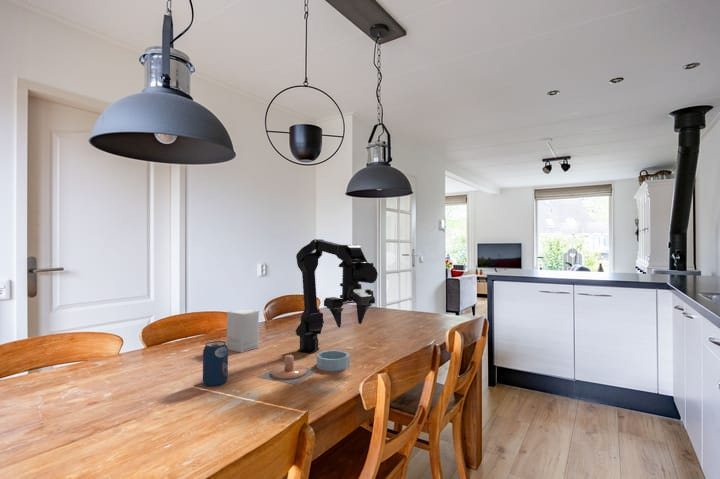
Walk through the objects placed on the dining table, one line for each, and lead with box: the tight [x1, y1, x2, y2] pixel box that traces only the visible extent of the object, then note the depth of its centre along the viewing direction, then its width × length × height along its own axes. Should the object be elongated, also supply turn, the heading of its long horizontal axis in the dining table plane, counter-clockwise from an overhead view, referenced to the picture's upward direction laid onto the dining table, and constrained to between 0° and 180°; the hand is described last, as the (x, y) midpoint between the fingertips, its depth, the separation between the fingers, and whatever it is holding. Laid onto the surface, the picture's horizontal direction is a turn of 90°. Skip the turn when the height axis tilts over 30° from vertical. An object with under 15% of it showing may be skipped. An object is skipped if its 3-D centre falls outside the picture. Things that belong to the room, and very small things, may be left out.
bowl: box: [316, 349, 351, 372], centre depth 127 cm, size 11×11×4 cm
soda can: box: [202, 340, 229, 387], centre depth 110 cm, size 7×7×12 cm
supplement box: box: [226, 308, 260, 353], centre depth 148 cm, size 9×9×15 cm
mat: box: [257, 363, 320, 385], centre depth 118 cm, size 14×14×1 cm
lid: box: [271, 354, 307, 380], centre depth 119 cm, size 11×11×6 cm
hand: (349, 325), depth 129 cm, fingers open, 9 cm apart
